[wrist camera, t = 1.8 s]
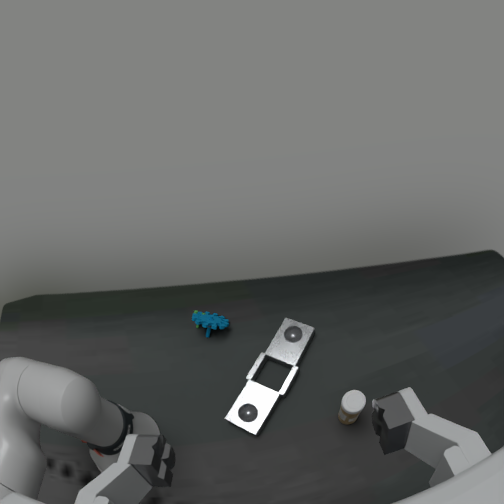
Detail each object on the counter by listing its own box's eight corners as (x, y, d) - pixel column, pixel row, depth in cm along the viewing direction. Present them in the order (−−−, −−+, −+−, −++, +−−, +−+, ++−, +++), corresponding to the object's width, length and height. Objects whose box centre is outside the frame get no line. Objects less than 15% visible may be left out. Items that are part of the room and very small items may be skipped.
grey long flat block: (261, 438, 58) (258, 435, 55) (225, 419, 62) (220, 416, 60) (318, 334, 73) (317, 327, 71) (283, 322, 78) (282, 315, 75)
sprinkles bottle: (356, 424, 55) (365, 412, 46) (336, 424, 56) (340, 412, 47) (358, 406, 58) (367, 389, 49) (339, 405, 59) (343, 389, 50)
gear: (237, 321, 79) (209, 326, 71) (233, 341, 80) (205, 347, 72) (210, 306, 86) (182, 309, 78) (206, 325, 87) (179, 329, 79)
